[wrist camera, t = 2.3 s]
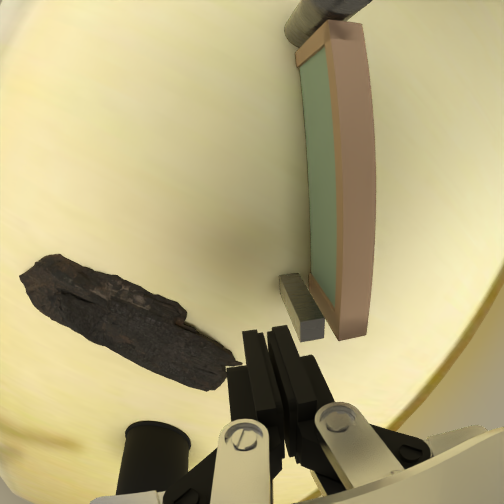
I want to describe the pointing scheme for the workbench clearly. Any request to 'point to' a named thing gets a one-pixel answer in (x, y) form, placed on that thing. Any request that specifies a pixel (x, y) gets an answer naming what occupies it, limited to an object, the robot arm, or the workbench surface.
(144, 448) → the aerosol can
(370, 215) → the gate
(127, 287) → the wood
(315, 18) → the gate posts
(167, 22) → the workbench surface
